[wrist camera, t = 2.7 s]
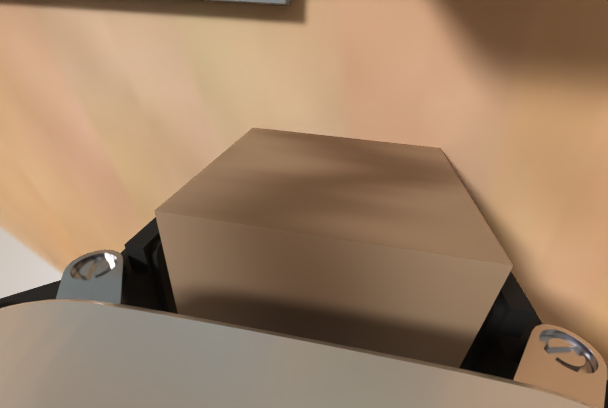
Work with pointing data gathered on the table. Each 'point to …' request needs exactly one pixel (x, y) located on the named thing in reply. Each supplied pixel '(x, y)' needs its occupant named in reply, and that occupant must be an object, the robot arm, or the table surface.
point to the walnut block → (335, 245)
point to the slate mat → (259, 1)
